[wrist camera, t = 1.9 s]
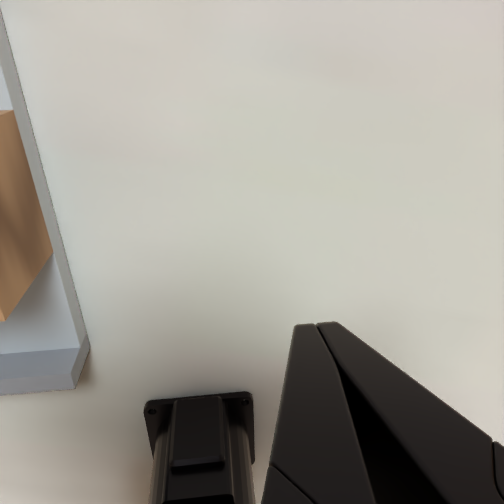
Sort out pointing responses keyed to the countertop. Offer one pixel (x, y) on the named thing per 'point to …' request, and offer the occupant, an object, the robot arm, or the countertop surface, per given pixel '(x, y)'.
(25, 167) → the walnut block
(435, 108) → the countertop surface
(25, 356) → the board
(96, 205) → the countertop surface
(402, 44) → the countertop surface
